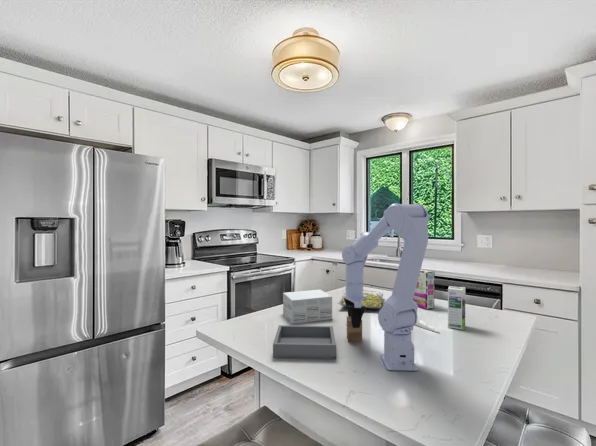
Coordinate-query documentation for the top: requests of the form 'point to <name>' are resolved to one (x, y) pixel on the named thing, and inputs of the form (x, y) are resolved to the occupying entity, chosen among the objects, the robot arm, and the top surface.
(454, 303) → the syrup box
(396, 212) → the robot arm
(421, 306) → the candy bar box
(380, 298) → the frozen beans
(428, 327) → the unicorn horn
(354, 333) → the walnut block
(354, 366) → the top surface
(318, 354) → the charcoal bin
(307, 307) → the supplement box
